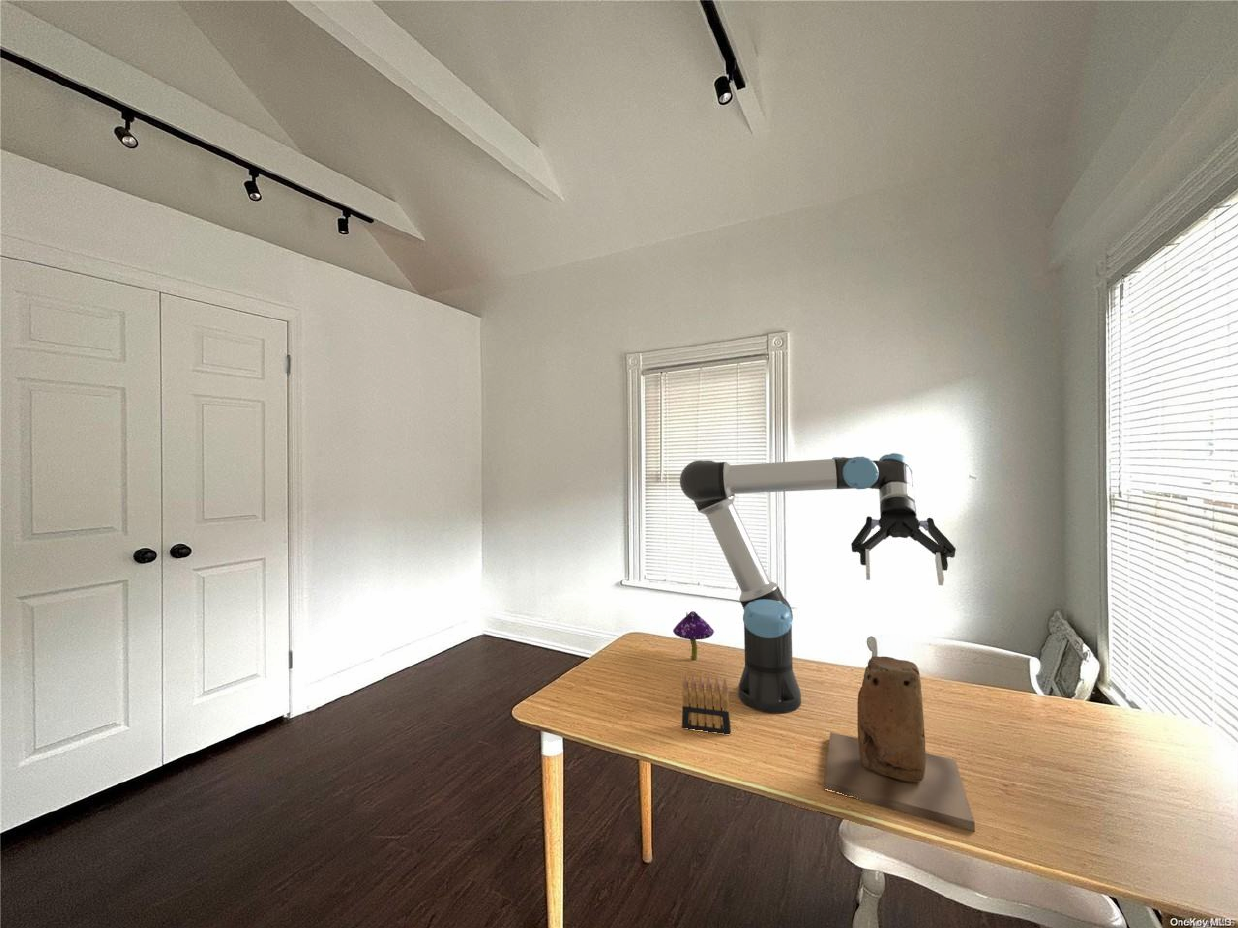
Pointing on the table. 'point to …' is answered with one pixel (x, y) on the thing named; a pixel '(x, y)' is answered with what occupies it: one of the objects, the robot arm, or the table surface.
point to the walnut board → (899, 785)
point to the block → (892, 719)
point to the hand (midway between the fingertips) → (903, 579)
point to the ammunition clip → (705, 707)
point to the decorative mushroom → (693, 630)
